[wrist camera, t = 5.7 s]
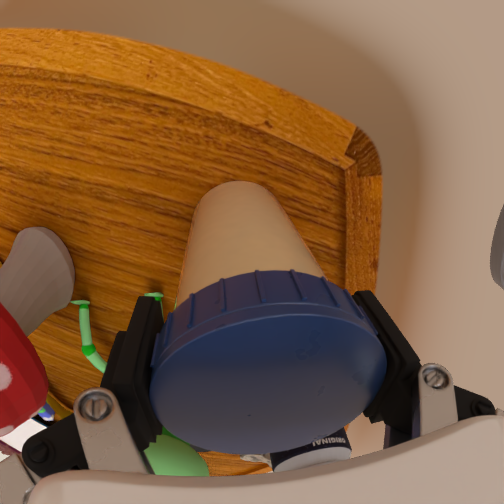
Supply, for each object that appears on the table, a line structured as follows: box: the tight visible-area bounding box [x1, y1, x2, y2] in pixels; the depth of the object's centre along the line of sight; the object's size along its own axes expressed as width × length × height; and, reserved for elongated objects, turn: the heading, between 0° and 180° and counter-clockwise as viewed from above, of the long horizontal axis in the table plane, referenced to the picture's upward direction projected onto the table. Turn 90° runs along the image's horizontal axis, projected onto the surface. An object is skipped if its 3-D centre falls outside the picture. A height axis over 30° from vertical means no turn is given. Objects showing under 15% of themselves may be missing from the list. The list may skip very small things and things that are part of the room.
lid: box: [149, 269, 387, 455], centre depth 8 cm, size 7×7×2 cm
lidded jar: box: [174, 181, 329, 310], centre depth 14 cm, size 6×6×13 cm
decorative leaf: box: [46, 393, 73, 419], centre depth 25 cm, size 10×2×3 cm, turn 17°
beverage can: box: [270, 427, 352, 472], centre depth 20 cm, size 6×6×12 cm
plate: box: [0, 417, 49, 452], centre depth 30 cm, size 22×22×2 cm
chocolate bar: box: [0, 440, 22, 456], centre depth 37 cm, size 7×19×2 cm, turn 63°
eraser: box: [38, 401, 55, 421], centre depth 26 cm, size 2×6×2 cm
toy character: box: [70, 292, 209, 476], centre depth 19 cm, size 10×18×13 cm, turn 5°
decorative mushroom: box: [0, 227, 75, 437], centre depth 12 cm, size 10×9×15 cm
